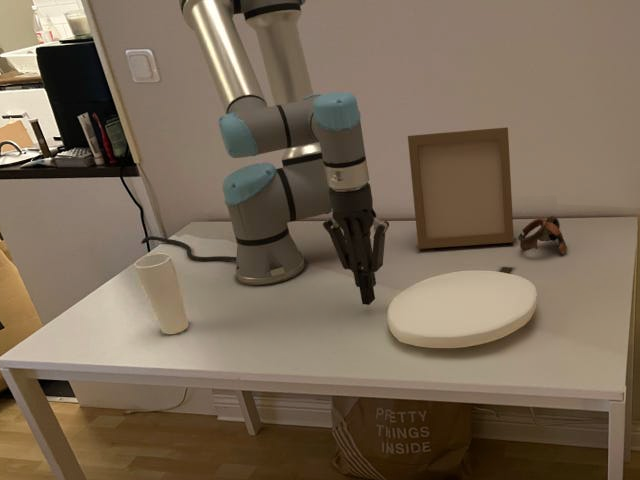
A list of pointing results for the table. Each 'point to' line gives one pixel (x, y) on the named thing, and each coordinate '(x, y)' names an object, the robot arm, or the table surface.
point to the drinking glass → (162, 291)
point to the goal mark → (506, 270)
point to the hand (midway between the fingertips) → (368, 301)
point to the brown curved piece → (542, 234)
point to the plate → (461, 309)
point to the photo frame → (462, 188)
